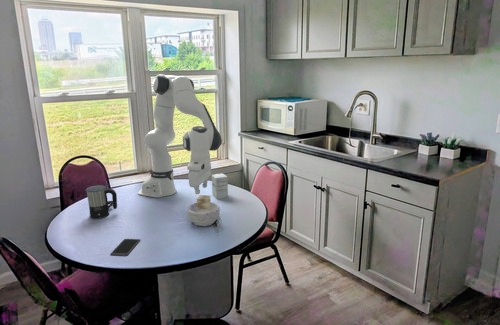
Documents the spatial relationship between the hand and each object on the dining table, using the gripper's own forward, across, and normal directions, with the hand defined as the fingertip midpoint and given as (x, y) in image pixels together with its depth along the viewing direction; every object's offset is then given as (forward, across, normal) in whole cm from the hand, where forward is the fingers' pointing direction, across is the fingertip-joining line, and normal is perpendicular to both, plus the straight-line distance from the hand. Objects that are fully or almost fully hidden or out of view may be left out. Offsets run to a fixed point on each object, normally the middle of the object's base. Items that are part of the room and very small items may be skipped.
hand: (201, 190), depth 166 cm
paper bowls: (+16, 0, +1) cm, 17 cm away
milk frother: (+18, -1, -56) cm, 59 cm away
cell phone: (+17, +30, -22) cm, 41 cm away
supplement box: (+17, -36, -2) cm, 40 cm away
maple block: (+8, 0, +1) cm, 8 cm away
